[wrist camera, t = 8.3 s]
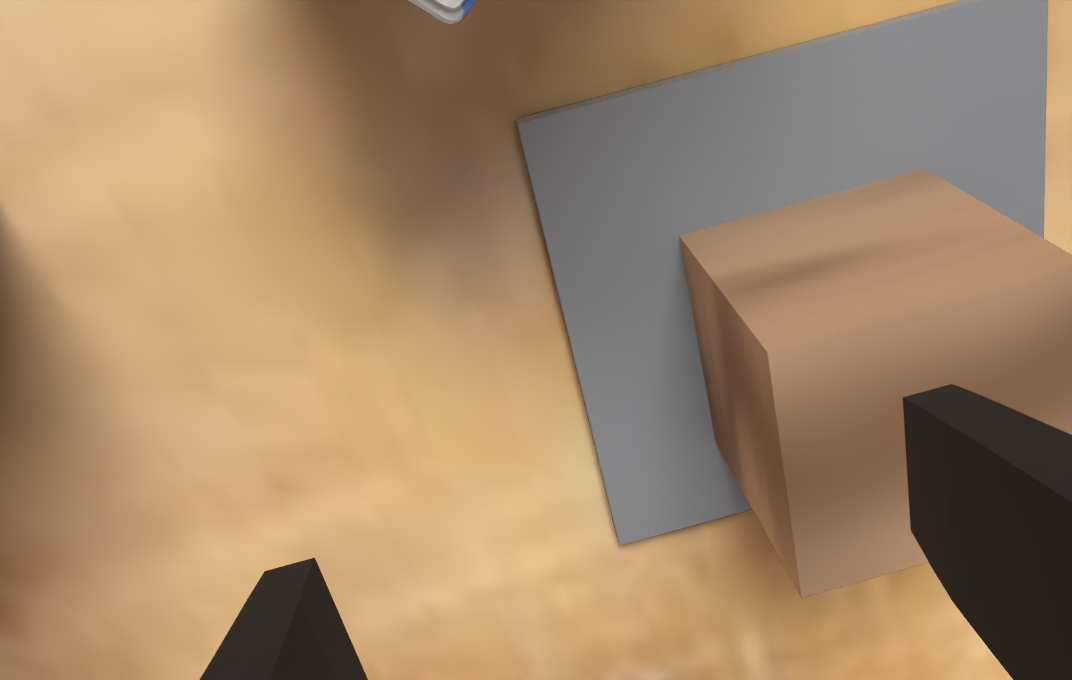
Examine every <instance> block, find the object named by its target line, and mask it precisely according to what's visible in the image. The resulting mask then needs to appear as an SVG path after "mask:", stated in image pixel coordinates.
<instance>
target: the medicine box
mask: <svg viewBox="0 0 1072 680" xmlns="http://www.w3.org/2000/svg"><path fill="white" fill-rule="evenodd" d="M407 1H409V2H411V3H412V4H414V5H415V6H417V7H419V8H420V9H422V10H424V11H425V12H427V13H429V14H430V15H432V16H434V17H435V18H437V19H438V20H440V21H442V22H444V23H447V24H454V23H457V22H459V21H460V20H461V19H462V18H464V17H465V15H466V14H467V13H468V12H469V11H470V9H471V8H472V6H473V4H474V3H475V1H476V0H407Z"/></svg>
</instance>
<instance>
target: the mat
mask: <svg viewBox="0 0 1072 680" xmlns="http://www.w3.org/2000/svg"><path fill="white" fill-rule="evenodd" d="M1047 30H1048V0H961V1H957V2H953V3H950V4H946V5H942V6H938V7H935V8H931V9H927V10H923V11H920V12H916V13H912V14H908V15H905V16H901V17H897V18H893V19H890V20H886V21H882V22H878V23H875V24H871V25H867V26H863V27H859V28H856V29H852V30H848V31H844V32H841V33H837V34H833V35H829V36H826V37H822V38H818V39H814V40H811V41H807V42H803V43H799V44H796V45H792V46H788V47H784V48H781V49H777V50H773V51H769V52H765V53H762V54H758V55H754V56H750V57H747V58H743V59H739V60H735V61H732V62H728V63H724V64H720V65H717V66H713V67H709V68H705V69H702V70H698V71H694V72H690V73H687V74H683V75H679V76H675V77H672V78H668V79H664V80H660V81H656V82H653V83H649V84H645V85H641V86H638V87H634V88H630V89H626V90H623V91H619V92H615V93H611V94H608V95H604V96H600V97H596V98H593V99H589V100H585V101H581V102H578V103H574V104H570V105H566V106H562V107H559V108H555V109H551V110H547V111H544V112H540V113H536V114H532V115H529V116H525V117H521V118H517V119H516V123H517V127H518V131H519V135H520V139H521V143H522V147H523V152H524V156H525V160H526V164H527V168H528V172H529V176H530V180H531V185H532V189H533V193H534V197H535V201H536V205H537V209H538V213H539V218H540V222H541V226H542V230H543V234H544V238H545V242H546V246H547V251H548V255H549V259H550V263H551V267H552V271H553V275H554V280H555V284H556V288H557V292H558V296H559V300H560V304H561V308H562V313H563V317H564V321H565V325H566V329H567V333H568V337H569V341H570V346H571V350H572V354H573V358H574V362H575V366H576V370H577V374H578V379H579V383H580V387H581V391H582V395H583V399H584V403H585V407H586V412H587V416H588V420H589V424H590V428H591V432H592V436H593V440H594V445H595V449H596V453H597V457H598V461H599V465H600V469H601V473H602V478H603V482H604V486H605V490H606V494H607V498H608V502H609V506H610V511H611V515H612V519H613V523H614V527H615V531H616V535H617V538H618V541H619V544H620V545H624V544H627V543H631V542H634V541H638V540H642V539H645V538H649V537H653V536H656V535H660V534H664V533H667V532H671V531H675V530H678V529H682V528H686V527H689V526H693V525H697V524H700V523H704V522H707V521H711V520H715V519H718V518H722V517H726V516H729V515H733V514H737V513H740V512H744V511H748V510H751V509H752V508H751V506H750V504H749V502H748V500H747V499H746V497H745V495H744V493H743V491H742V490H741V488H740V486H739V484H738V482H737V480H736V479H735V477H734V475H733V473H732V471H731V470H730V468H729V466H728V464H727V462H726V461H725V459H724V457H723V455H722V453H721V452H720V450H719V448H718V446H717V444H716V442H715V436H714V431H713V425H712V419H711V414H710V408H709V402H708V397H707V391H706V385H705V380H704V374H703V368H702V363H701V357H700V352H699V346H698V340H697V335H696V329H695V323H694V318H693V312H692V306H691V301H690V295H689V289H688V284H687V278H686V272H685V267H684V261H683V256H682V250H681V244H680V239H679V235H683V234H687V233H690V232H694V231H698V230H701V229H705V228H709V227H712V226H716V225H720V224H723V223H727V222H731V221H734V220H738V219H742V218H745V217H749V216H753V215H756V214H760V213H764V212H767V211H771V210H774V209H778V208H782V207H785V206H789V205H793V204H796V203H800V202H804V201H807V200H811V199H815V198H818V197H822V196H826V195H829V194H833V193H837V192H840V191H844V190H848V189H851V188H855V187H859V186H862V185H866V184H870V183H873V182H877V181H881V180H884V179H888V178H892V177H895V176H899V175H902V174H906V173H910V172H913V171H917V170H921V169H924V168H925V169H927V170H929V171H930V172H932V173H934V174H936V175H937V176H939V177H941V178H942V179H944V180H946V181H947V182H949V183H951V184H952V185H954V186H956V187H958V188H959V189H961V190H963V191H964V192H966V193H968V194H969V195H971V196H973V197H974V198H976V199H978V200H979V201H981V202H983V203H985V204H986V205H988V206H990V207H991V208H993V209H995V210H996V211H998V212H1000V213H1001V214H1003V215H1005V216H1007V217H1008V218H1010V219H1012V220H1013V221H1015V222H1017V223H1018V224H1020V225H1022V226H1023V227H1025V228H1027V229H1028V230H1030V231H1032V232H1034V233H1035V234H1037V235H1039V236H1040V237H1042V238H1044V193H1045V139H1046V84H1047Z"/></svg>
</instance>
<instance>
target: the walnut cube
mask: <svg viewBox="0 0 1072 680" xmlns="http://www.w3.org/2000/svg"><path fill="white" fill-rule="evenodd" d="M679 239H680V244H681V250H682V256H683V261H684V267H685V272H686V278H687V284H688V289H689V295H690V301H691V306H692V312H693V318H694V323H695V329H696V335H697V340H698V346H699V352H700V357H701V363H702V368H703V374H704V380H705V385H706V391H707V397H708V402H709V408H710V414H711V419H712V425H713V431H714V436H715V442H716V444H717V446H718V448H719V450H720V452H721V453H722V455H723V457H724V459H725V461H726V462H727V464H728V466H729V468H730V470H731V471H732V473H733V475H734V477H735V479H736V480H737V482H738V484H739V486H740V488H741V490H742V491H743V493H744V495H745V497H746V499H747V500H748V502H749V504H750V506H751V508H752V509H753V511H754V513H755V515H756V517H757V518H758V520H759V522H760V524H761V526H762V527H763V529H764V531H765V533H766V535H767V536H768V538H769V540H770V542H771V544H772V545H773V547H774V549H775V551H776V553H777V554H778V556H779V558H780V560H781V562H782V563H783V565H784V567H785V569H786V571H787V572H788V574H789V576H790V578H791V580H792V581H793V583H794V585H795V587H796V589H797V590H798V592H799V594H800V596H801V598H803V597H807V596H811V595H814V594H818V593H821V592H825V591H828V590H832V589H836V588H839V587H843V586H846V585H850V584H853V583H857V582H861V581H864V580H868V579H871V578H875V577H878V576H882V575H886V574H889V573H893V572H896V571H900V570H904V569H907V568H911V567H914V566H918V565H921V564H925V563H929V561H928V560H927V558H926V556H925V555H924V553H923V551H922V549H921V548H920V546H919V544H918V542H917V541H916V539H915V537H914V535H913V534H912V532H911V528H910V511H909V495H908V478H907V462H906V445H905V429H904V412H903V397H906V396H909V395H913V394H917V393H920V392H924V391H928V390H931V389H935V388H939V387H942V386H946V385H950V384H954V385H956V386H959V387H962V388H964V389H967V390H969V391H972V392H974V393H977V394H979V395H982V396H984V397H986V398H989V399H991V400H993V401H996V402H998V403H1000V404H1002V405H1005V406H1007V407H1009V408H1012V409H1014V410H1016V411H1018V412H1021V413H1023V414H1025V415H1028V416H1030V417H1032V418H1034V419H1037V420H1039V421H1041V422H1044V423H1046V424H1048V425H1050V426H1053V427H1055V428H1057V429H1060V430H1062V431H1064V432H1067V433H1069V434H1071V435H1072V255H1071V254H1069V253H1067V252H1066V251H1064V250H1062V249H1061V248H1059V247H1057V246H1056V245H1054V244H1052V243H1050V242H1049V241H1047V240H1045V239H1044V238H1042V237H1040V236H1039V235H1037V234H1035V233H1034V232H1032V231H1030V230H1028V229H1027V228H1025V227H1023V226H1022V225H1020V224H1018V223H1017V222H1015V221H1013V220H1012V219H1010V218H1008V217H1007V216H1005V215H1003V214H1001V213H1000V212H998V211H996V210H995V209H993V208H991V207H990V206H988V205H986V204H985V203H983V202H981V201H979V200H978V199H976V198H974V197H973V196H971V195H969V194H968V193H966V192H964V191H963V190H961V189H959V188H958V187H956V186H954V185H952V184H951V183H949V182H947V181H946V180H944V179H942V178H941V177H939V176H937V175H936V174H934V173H932V172H930V171H929V170H927V169H925V168H924V169H921V170H917V171H913V172H910V173H906V174H902V175H899V176H895V177H892V178H888V179H884V180H881V181H877V182H873V183H870V184H866V185H862V186H859V187H855V188H851V189H848V190H844V191H840V192H837V193H833V194H829V195H826V196H822V197H818V198H815V199H811V200H807V201H804V202H800V203H796V204H793V205H789V206H785V207H782V208H778V209H774V210H771V211H767V212H764V213H760V214H756V215H753V216H749V217H745V218H742V219H738V220H734V221H731V222H727V223H723V224H720V225H716V226H712V227H709V228H705V229H701V230H698V231H694V232H690V233H687V234H683V235H679Z"/></svg>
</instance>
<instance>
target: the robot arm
mask: <svg viewBox="0 0 1072 680" xmlns="http://www.w3.org/2000/svg"><path fill="white" fill-rule="evenodd" d="M903 412H904V429H905V445H906V462H907V478H908V495H909V511H910V528H911V532H912V534H913V535H914V537H915V539H916V541H917V542H918V544H919V546H920V548H921V549H922V551H923V553H924V555H925V556H926V558H927V560H928V561H929V563H930V565H931V567H932V568H933V570H934V572H935V573H936V575H937V577H938V578H939V580H940V582H941V583H942V585H943V586H944V588H945V590H946V591H947V593H948V595H949V596H950V598H951V600H952V601H953V602H954V604H955V605H956V606H957V608H958V609H959V610H960V612H961V613H962V614H963V616H964V617H965V618H966V620H967V621H968V622H969V623H970V625H971V626H972V627H973V629H974V630H975V631H976V632H977V634H978V635H979V636H980V638H981V639H982V640H983V642H984V643H985V644H986V645H987V647H988V648H989V649H990V651H991V652H992V653H993V654H994V656H995V657H996V658H997V659H998V661H999V662H1000V663H1001V665H1002V666H1003V667H1004V668H1005V670H1006V671H1007V672H1008V673H1009V675H1010V676H1011V677H1012V679H1013V680H1072V435H1071V434H1069V433H1067V432H1064V431H1062V430H1060V429H1057V428H1055V427H1053V426H1050V425H1048V424H1046V423H1044V422H1041V421H1039V420H1037V419H1034V418H1032V417H1030V416H1028V415H1025V414H1023V413H1021V412H1018V411H1016V410H1014V409H1012V408H1009V407H1007V406H1005V405H1002V404H1000V403H998V402H996V401H993V400H991V399H989V398H986V397H984V396H982V395H979V394H977V393H974V392H972V391H969V390H967V389H964V388H962V387H959V386H956V385H954V384H950V385H946V386H942V387H939V388H935V389H931V390H928V391H924V392H920V393H917V394H913V395H909V396H906V397H903ZM200 680H368V679H367V677H366V675H365V672H364V670H363V668H362V665H361V663H360V661H359V658H358V656H357V654H356V652H355V649H354V647H353V645H352V642H351V640H350V638H349V635H348V633H347V631H346V629H345V626H344V624H343V622H342V619H341V617H340V615H339V612H338V610H337V608H336V606H335V603H334V601H333V599H332V596H331V594H330V592H329V589H328V587H327V585H326V583H325V580H324V578H323V576H322V573H321V571H320V569H319V566H318V564H317V562H316V560H315V558H312V559H308V560H305V561H301V562H297V563H294V564H290V565H286V566H283V567H279V568H275V569H272V570H268V571H265V572H264V573H263V575H262V577H261V578H260V580H259V581H258V583H257V585H256V586H255V588H254V590H253V591H252V593H251V594H250V596H249V598H248V599H247V601H246V603H245V604H244V606H243V608H242V609H241V611H240V613H239V615H238V616H237V618H236V620H235V621H234V623H233V625H232V626H231V628H230V630H229V632H228V633H227V635H226V637H225V638H224V640H223V642H222V643H221V645H220V647H219V648H218V650H217V652H216V654H215V655H214V657H213V659H212V660H211V662H210V664H209V665H208V667H207V669H206V670H205V672H204V673H203V675H202V677H201V678H200Z"/></svg>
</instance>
